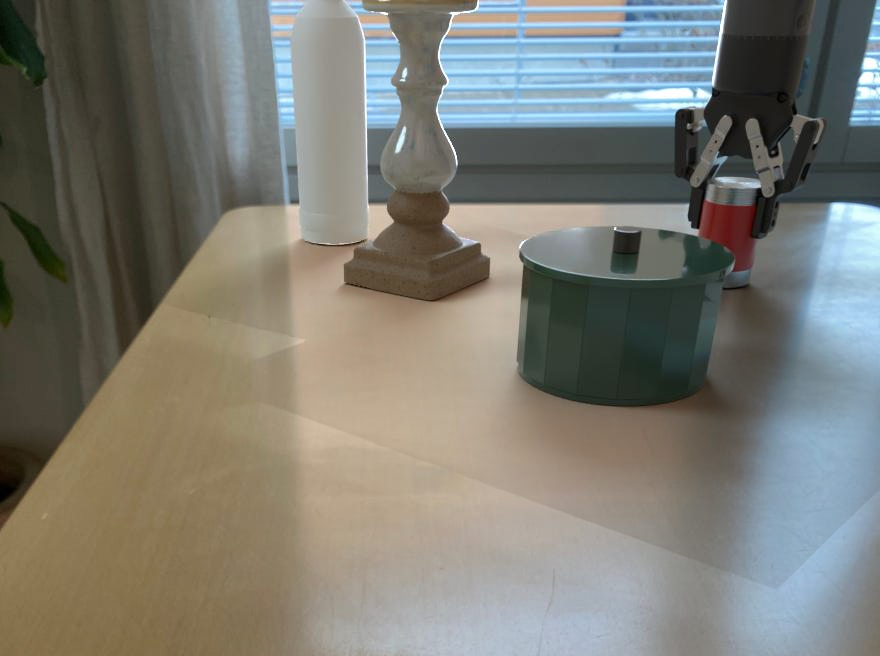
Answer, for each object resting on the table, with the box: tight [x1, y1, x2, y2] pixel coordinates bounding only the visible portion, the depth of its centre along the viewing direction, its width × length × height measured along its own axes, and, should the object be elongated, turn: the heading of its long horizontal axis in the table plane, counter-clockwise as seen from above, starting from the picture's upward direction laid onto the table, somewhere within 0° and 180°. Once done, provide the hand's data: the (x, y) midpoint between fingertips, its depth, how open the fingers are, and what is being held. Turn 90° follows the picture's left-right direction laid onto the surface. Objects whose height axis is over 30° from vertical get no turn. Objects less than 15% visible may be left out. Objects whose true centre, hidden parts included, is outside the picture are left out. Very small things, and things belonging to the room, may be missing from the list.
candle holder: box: [343, 0, 491, 301], centre depth 91 cm, size 11×11×24 cm
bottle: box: [289, 0, 370, 244], centre depth 104 cm, size 8×8×30 cm
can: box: [697, 176, 763, 289], centre depth 95 cm, size 6×6×9 cm
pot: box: [516, 263, 725, 407], centre depth 75 cm, size 15×15×8 cm
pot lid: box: [518, 225, 735, 289], centre depth 72 cm, size 16×16×3 cm
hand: (728, 231), depth 95 cm, fingers closed on can, 5 cm apart
